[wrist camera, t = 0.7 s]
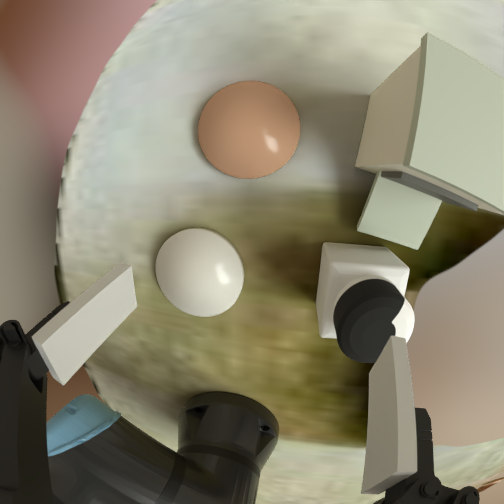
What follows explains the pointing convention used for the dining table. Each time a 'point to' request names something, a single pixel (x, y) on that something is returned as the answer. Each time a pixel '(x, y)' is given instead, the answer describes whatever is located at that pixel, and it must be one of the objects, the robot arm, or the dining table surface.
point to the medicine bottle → (362, 299)
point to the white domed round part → (200, 271)
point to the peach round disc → (249, 129)
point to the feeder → (432, 142)
